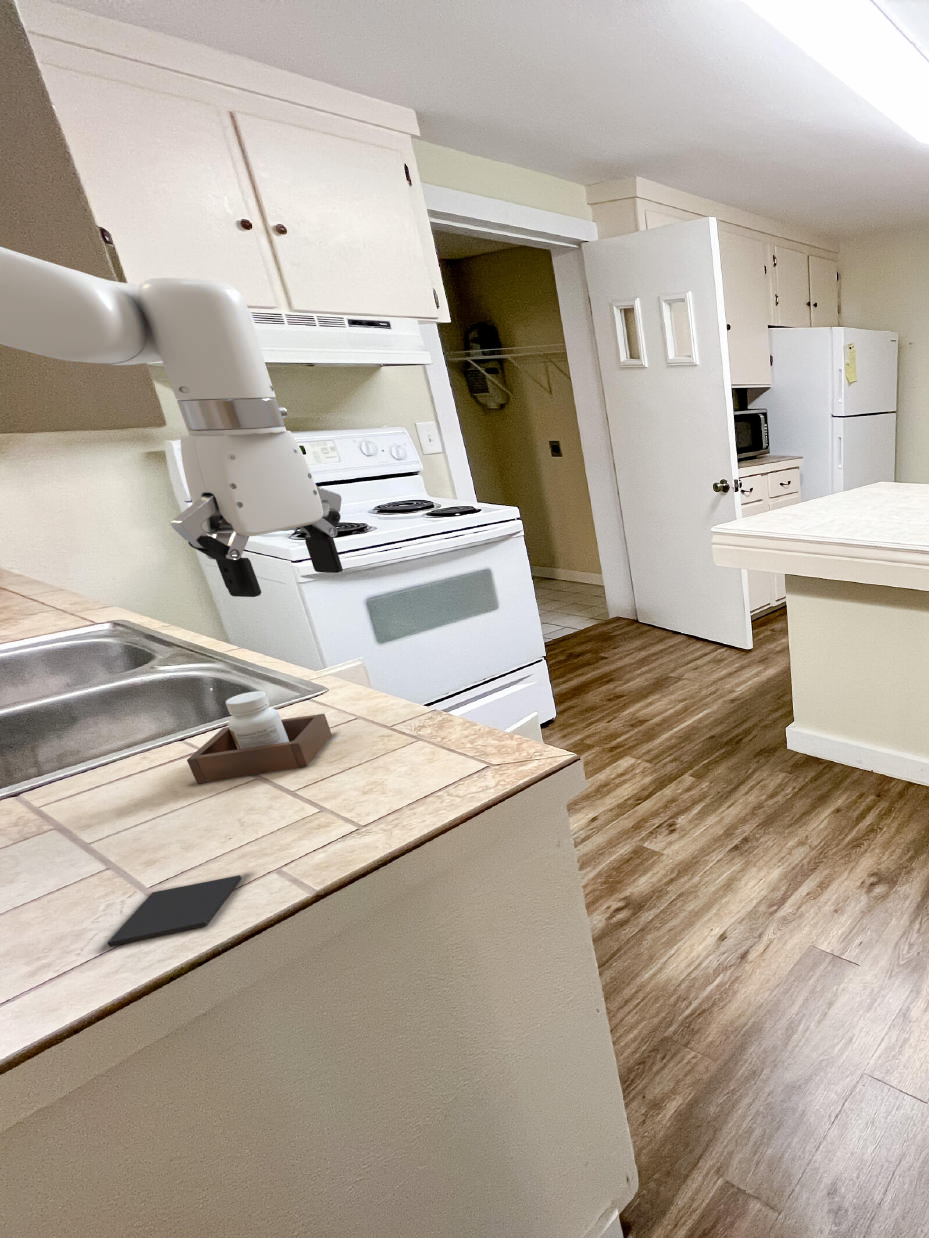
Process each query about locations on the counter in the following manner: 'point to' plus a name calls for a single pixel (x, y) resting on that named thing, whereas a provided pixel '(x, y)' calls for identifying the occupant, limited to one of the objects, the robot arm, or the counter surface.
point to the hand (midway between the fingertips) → (290, 583)
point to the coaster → (176, 910)
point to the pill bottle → (254, 721)
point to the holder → (260, 751)
